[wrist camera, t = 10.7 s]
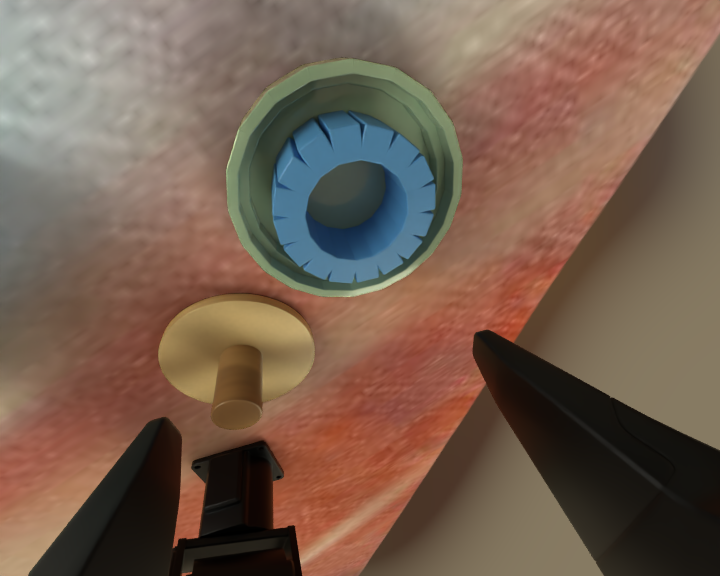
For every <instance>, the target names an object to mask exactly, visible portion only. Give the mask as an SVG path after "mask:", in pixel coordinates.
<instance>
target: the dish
mask: <svg viewBox="0 0 720 576" xmlns="http://www.w3.org/2000/svg"><path fill="white" fill-rule="evenodd" d="M340 110H343V111H344V112H346V113H347V114H348V111H350V110H351V111H354V112H358V113H362V114H366V115H370V116H372V117H374V118H375V119H378V120H380V121H381V122H383V123H385V124H386V125H388V126H389V127H391V128H392V129H394V130H396V131H397V132H399V133H400V134H402V135H403V136H404V137H405V138H406V139H408V140H409V141H410V142H411V143H412V144H413V145H415V146H416V147H417V148H418V149H419V150H420V152H419V153H421V154H422V155H424V157H425V159H426V161H427V163H428V166H429V168H430V170H431V172H432V175H433V177H434V179H433V180H432V182H433V183H434V184H435V209H434V210H430V211H431V212H432V213H433V214H434V216H433V219H432V221H431V224H430V226H429V229H428V232H427V234H426V236H419V237H420V238H421V239H422V241H423V242H422V243H421V244H420V245H419V247H418V248H417V249H416V250H415V251H414V253H413V254H412V255H411V256H410V257H409V259H406V258H404V257H402V256H401V255H400V257H401V258H402V260H403V264H401V265H400V266H398V267H396V268H395V269H393V270H392V271H390V272H388V273H387V274H385V275H384V274H382V272H381V271H380V269H379V268H378V269H379V277H378V278H374V279H370V280H366V281H362V282H356V280H355V277H354V279H353V282H352V283H340V282H330V281H329V279H328V276H327V277H326V279H325V280H323V279H321V278H319V277H317V276H315V275H313V274H310V273H308V272H306V271H304V269H303V265H302V266H301V267H299V266H298V265H297V264H296V263H295V262H294V261H293V259H292V258H291V257H290V256H289V255H288V254H287V253H286V252H285V251H284V245H281V244H280V241H279V238H278V235H277V232H276V229H275V226H274V223H273V215H272V193H271V185H272V176H273V166H274V164H276V157H277V155H278V153H279V152H280V150H281V148H282V146H283V145H284V143H285V141H286V139H287V138H288V137H290V138H291V139H293V140H294V137H293V131H294V130H296V129H297V128H299V127H300V126H301V125H303V124H304V123H305V122H307V121H308V120H310V119H311V118H314V119H315V120H316V122H317V123H318V125H319V126H320V124H319V119H318V115H320V114H325V113H330V112H335V111H340ZM294 141H295V140H294ZM462 167H463V158H462V154H461V150H460V147H459V143H458V139H457V136H456V132H455V128H454V125H453V123H452V121H451V119H450V118H449V116H448V115H447V113H446V112H445V111H444V109H443V108H442V106H441V105H440V103H439V102H438V101H437V99H436V98H435V96H434V95H433V93H432V92H431V91H430V90H429V89H428V88H426V87H425V86H423V85H422V84H420V83H419V82H417V81H416V80H414V79H413V78H411V77H410V76H408V75H407V74H405V73H404V72H402V71H401V70H399V69H398V68H395V67H393V66H388V65H383V64H378V63H374V62H369V61H364V60H359V59H354V58H346V57H345V58H343V57H341V58H335V59H330V60H324V61H319V62H313V63H308V64H304V65H301V66H299V67H297V68H296V69H294V70H293V71H291V72H289V73H288V74H286V75H285V76H283V77H281V78H280V79H278V80H277V81H275V82H273V83H272V84H270V85H269V86H267V88H265V89H264V91H263V92H262V93H261V95H260V96H259V97H258V99H257V100H256V101H255V103H254V104H253V105H252V107H251V108H250V109H249V111H248V112H247V113H246V115H245V116H244V117H243V119H242V121H241V123H240V126H239V129H238V132H237V135H236V138H235V142H234V145H233V148H232V151H231V155H230V158H229V161H228V165H227V168H226V185H227V205H228V212H229V215H230V217H231V220H232V222H233V225H234V227H235V230H236V232H237V235H238V237H239V239H240V242H241V244H242V246H243V247H244V248H245V249H246V251H247V252H248V253H249V254H250V255H251V256H252V258H253V259H254V260H255V261H256V262H257V263H258V265H259V266H260V267H261V268H262V269H263V270H264V271H265V272H266V273H268V274H269V275H271V276H273V277H274V278H276V279H277V280H279V281H281V282H282V283H284V284H285V285H287V286H289V287H290V288H292V289H296V290H299V291H303V292H306V293H310V294H313V295H317V296H322V297H354V296H358V295H362V294H366V293H370V292H374V291H378V290H381V289H384V288H386V287H387V286H389V285H391V284H393V283H395V282H397V281H399V280H400V279H402V278H404V277H406V276H408V275H409V274H410V273H412V272H413V271H414V270H415V269H416V268H417V267H418V266H419V265H420V264H422V263H423V262H424V261H425V260H426V259H427V258H428V257H429V256H430V255H431V254H432V253H433V252H434V250H435V249H436V247H437V246H438V244H439V243H440V241H441V240H442V238H443V237H444V235H445V234H446V232H447V231H448V229H449V228H450V226H451V223H452V220H453V217H454V214H455V212H456V209H457V206H458V203H459V200H460V197H461V189H462ZM385 190H386V183H385V172H384V169H383V168H382V166H381V164H376V163H371V162H367V161H362V160H360V161H355V162H350V163H346V164H341V165H338V166H337V167H335V168H334V169H332V170H331V171H329V172H328V173H327V174H325V175H324V176H322V177H321V178H320V180H319V181H318V183H317V184H316V186H315V187H314V189H313V190H312V192H311V194H310V195H309V199H308V205H307V211H308V213H309V214H310V215H311V217H312V218H313V219H314V220H316V221H317V222H319V223H321V224H323V225H324V226H326V227H331V228H338V229H346V228H350V227H355V226H359V225H360V224H362V223H363V222H365V221H366V220H368V219H369V218H371V217H372V216H373V214H374V213H375V212H376V210H377V209H378V208H379V206H380V205H381V204H382V200H383V197H384V194H385Z"/></svg>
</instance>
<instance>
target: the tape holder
mask: <svg viewBox="0 0 720 576" xmlns="http://www.w3.org/2000/svg"><path fill="white" fill-rule="evenodd" d="M314 356H315V345H314V339H313V335H312V332H311V329H310V327H309V326H308V324H307V322H306V321H305V320H304V319H303V317H302V316H301V315H300V314H299V313H297V312H296V311H295V310H294V309H292V308H291V307H289V306H288V305H286V304H284V303H282V302H280V301H278V300H275V299H272V298H269V297H265V296H260V295H254V294H239V293H235V294H224V295H219V296H213V297H210V298H207V299H203V300H201V301H199V302H196V303H194V304H192V305H190V306H189V307H187V308H185V309H184V310H183V311H181V312H180V313H179V314H177V315H176V316H175V317H174V318H173V320H172V321H171V322H170V323H169V325H168V326H167V328H166V329H165V332H164V334H163V336H162V339H161V342H160V345H159V350H158V359H159V364H160V367H161V370H162V372H163V374H164V376H165V377H166V379H167V380H168V381H169V382H170V383H171V384H172V385H173V386H174V387H175V388H176V389H178V390H179V391H181V392H182V393H184V394H185V395H187V396H189V397H191V398H194V399H196V400H199V401H202V402H206V403H209V404H213V405H212V411H211V419H212V421H213V423H214V424H215V425H217V426H218V427H221V428H224V429H229V430H238V429H244V428H247V427H250V426H252V425H254V424H255V423H257V422H258V421H259V419H260V418H261V416H262V403H263V402H266V401H269V400H272V399H275V398H277V397H279V396H281V395H283V394H285V393H287V392H289V391H290V390H292V389H293V388H294V387H296V386H297V385H298V384H299V383H300V382H301V381H302V380H303V379H304V378H305V377H306V375H307V374H308V372H309V371H310V369H311V367H312V364H313V361H314Z"/></svg>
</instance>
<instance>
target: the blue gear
mask: <svg viewBox="0 0 720 576" xmlns="http://www.w3.org/2000/svg"><path fill="white" fill-rule="evenodd" d="M318 119H319V124H320V126H319V125H318V123H317V122H316V120H315V119H314V118H311V119H310V120H308V121H307V122H305V123H304V124H303V125H301V126H300V127H299V128H297V129H296V130H294V131H293V137H294V140H295V141H294V140H293V139H291V138H290V137H288V138H287V139H286V141H285V143H284V145H283V146H282V148H281V150H280V152H279V153H278V155H277V157H276V164H274V166H273V176H272V185H271V193H272V215H273V223H274V226H275V229H276V232H277V235H278V238H279V241H280V244H281V245H284V251H285V252H286V253H287V254H288V255H289V256H290V257H291V258H292V259H293V261H294V262H295V263H296V264H297V265H298V266H299V267H301V266H302V265H303V269H304V271H306V272H308V273H310V274H313V275H315V276H317V277H319V278H321V279H323V280H325V279H326V277H327V276H328V279H329V281H330V282H340V283H352V282H353V279H354V277H355V280H356V282H362V281H366V280H370V279H374V278H378V277H379V269H380V271H381V272H382V274H384V275H385V274H387V273H388V272H390V271H392V270H393V269H395V268H396V267H398V266H400V265H401V264H403V260H402V258H401V257H400V255H401V256H402V257H404V258H406V259H409V257H410V256H411V255H412V254H413V253H414V251H415V250H416V249H417V248H418V247H419V245H420V244H421V243H422V242H423V241H422V239H421V238H420V237H419V236H426V234H427V232H428V229H429V226H430V224H431V221H432V219H433V216H434V214H433V213H432V212H431V211H430V210H434V209H435V184H434V183H433V182H432V180H433V179H434V177H433V175H432V172H431V170H430V168H429V166H428V163H427V161H426V159H425V157H424V155H422V154H421V153H419V152H420V150H419V149H418V148H417V147H416V146H415V145H413V144H412V143H411V142H410V141H409V140H408V139H406V138H405V137H404V136H403V135H402V134H400V133H399V132H397V131H396V130H394V129H392V128H391V127H389V126H388V125H386V124H385V123H383V122H381V121H380V120H378V119H375V118H374V117H372V116H370V115H366V114H362V113H358V112H354V111H351V110H350V111H348V114H347V113H346V112H344V111H343V110H340V111H335V112H330V113H325V114H320V115H318ZM360 160H362V161H367V162H371V163H376V164H381V166H382V168H383V169H384V172H385V183H386V190H385V194H384V197H383V200H382V204H381V205H380V206H379V208H378V209H377V210H376V212H375V213H374V214H373V216H372V217H371V218H369V219H368V220H366V221H365V222H363V223H362V224H360V225H359V226H355V227H350V228H346V229H338V228H331V227H326V226H324V225H323V224H321V223H319V222H317V221H316V220H314V219H313V218H312V217H311V215H310V214H309V213H308V211H307V205H308V199H309V195H310V194H311V192H312V190H313V189H314V187H315V186H316V184H317V183H318V181H319V180H320V178H321V177H322V176H324V175H325V174H327V173H328V172H329V171H331V170H332V169H334V168H335V167H337V166H338V165H341V164H346V163H350V162H355V161H360ZM378 268H379V269H378Z"/></svg>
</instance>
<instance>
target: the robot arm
mask: <svg viewBox="0 0 720 576" xmlns="http://www.w3.org/2000/svg"><path fill="white" fill-rule="evenodd" d="M473 357H474V359H475V361H476V363H477V365H478V367H479V370H480V372H481V374H482V376H483V378H484V380H485V382H486V384H487V386H488V388H489V390H490V392H491V394H492V396H493V398H494V400H495V402H496V404H497V405H498V407H499V409H500V411H501V412H502V414H503V415H504V417H505V419H506V420H507V422H508V423H509V425H510V427H511V428H512V430H513V431H514V433H515V434H516V436H517V438H518V439H519V441H520V442H521V444H522V445H523V447H524V449H525V450H526V452H527V454H528V455H529V457H530V458H531V460H532V461H533V463H534V465H535V466H536V468H537V470H538V471H539V473H540V474H541V476H542V477H543V479H544V481H545V482H546V484H547V485H548V487H549V489H550V490H551V492H552V493H553V495H554V497H555V498H556V500H557V501H558V503H559V505H560V506H561V508H562V509H563V511H564V513H565V514H566V516H567V517H568V519H569V521H570V522H571V524H572V525H573V527H574V528H575V530H576V532H577V533H578V535H579V536H580V538H581V539H582V541H583V543H584V544H585V546H586V548H587V549H588V551H589V552H590V554H591V556H592V557H593V559H594V560H595V561H596V564H597V565H598V567H599V568H600V570H601V572H602V573H603V575H604V576H720V450H718V449H716V448H713V447H711V446H709V445H707V444H705V443H703V442H701V441H698V440H696V439H694V438H692V437H690V436H688V435H685V434H683V433H681V432H679V431H677V430H675V429H673V428H671V427H669V426H667V425H665V424H663V423H660V422H658V421H656V420H654V419H652V418H650V417H648V416H646V415H645V414H642V413H641V412H638V411H637V410H635V409H633V408H631V407H629V406H627V405H625V404H624V403H622V402H620V401H618V400H616V399H615V398H610V396H609V395H607V394H605V393H603V392H602V391H600V390H598V389H596V388H594V387H592V386H590V385H589V384H587V383H585V382H583V381H582V380H580V379H578V378H576V377H574V376H572V375H571V374H569V373H567V372H565V371H563V370H562V369H560V368H558V367H556V366H554V365H552V364H551V363H549V362H547V361H545V360H543V359H541V358H539V357H538V356H536V355H534V354H532V353H530V352H529V351H527V350H525V349H523V348H521V347H520V346H518V345H516V344H514V343H512V342H510V341H509V340H507V339H505V338H503V337H501V336H499V335H498V334H496V333H494V332H492V331H490V330H483V331H480V332H476V333H475V335H474V341H473ZM181 452H182V437H181V434H180V432H179V431H178V429H177V428H176V427H175V426H174V425H173V423H172V422H171V421H170V420H169V419H168V418H166V417H162V418H158V419H154V420H151V421H150V422H148V423H147V424H146V426H145V427H144V428H143V429H142V431H141V432H140V433H139V434H138V436H137V437H136V438H135V440H134V441H133V442H132V443H131V445H130V446H129V447H128V448H127V450H126V451H125V452H124V453H123V455H122V456H121V457H120V459H119V460H118V461H117V462H116V464H115V465H114V466H113V467H112V469H111V470H110V471H109V472H108V474H107V475H106V476H105V477H104V479H103V480H102V481H101V483H100V484H99V485H98V486H97V488H96V489H95V490H94V491H93V493H92V494H91V495H90V496H89V498H88V499H87V500H86V502H85V503H84V504H83V505H82V507H81V508H80V509H79V510H78V512H77V513H76V514H75V515H74V517H73V518H72V519H71V521H70V522H69V523H68V524H67V526H66V527H65V528H64V529H63V531H62V532H61V533H60V534H59V536H58V537H57V538H56V540H55V541H54V542H53V543H52V545H51V546H50V547H49V548H48V550H47V551H46V552H45V553H44V555H43V556H42V557H41V558H40V560H39V561H38V562H37V564H36V565H35V566H34V567H33V569H32V570H31V571H30V572H29V575H28V576H182V573H188V572H192V574H190V575H186V576H302V571H301V565H300V558H299V551H298V545H297V538H296V531H295V526H294V525H292V526H288V527H286V528H278V529H273V481H276V480H279V479H282V478H283V477H284V472H283V470H282V468H281V466H280V465H279V463H278V461H277V460H276V458H275V456H274V455H273V453H272V451H271V450H270V448H269V446H268V445H267V443H266V442H264V441H261V442H257V443H253V444H250V445H246V446H243V447H239V448H236V449H232V450H229V451H225V452H222V453H218V454H215V455H212V456H208V457H205V458H201V459H198V460H195V461H193V462H192V467H191V468H192V470H193V471H194V472H195V473H196V474H197V475H198V476H199V477H200V478H201V479H202V480H203V481H204V482H205V483H206V486H205V493H204V501H203V508H202V515H201V522H200V529H199V537H198V538H194V539H187V538H182V539H179V540H178V545H177V546H176V547H175V548H173V542H174V535H175V528H176V521H177V514H178V507H179V499H180V482H181Z"/></svg>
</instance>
